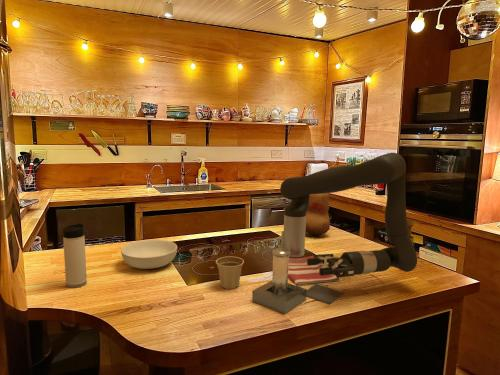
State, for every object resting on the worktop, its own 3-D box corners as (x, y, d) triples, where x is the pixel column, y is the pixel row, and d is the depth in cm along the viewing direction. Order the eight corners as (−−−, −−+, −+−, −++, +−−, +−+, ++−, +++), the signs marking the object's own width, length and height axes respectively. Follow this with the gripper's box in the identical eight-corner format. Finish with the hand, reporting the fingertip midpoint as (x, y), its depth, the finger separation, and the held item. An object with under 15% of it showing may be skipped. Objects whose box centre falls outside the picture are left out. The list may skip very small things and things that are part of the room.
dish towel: (312, 260, 149) (312, 254, 149) (341, 283, 127) (341, 276, 127) (273, 263, 145) (274, 257, 145) (296, 288, 123) (296, 280, 122)
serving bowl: (109, 269, 134) (108, 251, 133) (145, 252, 153) (145, 237, 152) (155, 279, 127) (155, 260, 126) (187, 260, 146) (187, 243, 145)
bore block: (252, 301, 111) (252, 290, 111) (274, 288, 120) (275, 278, 120) (284, 314, 104) (285, 302, 103) (306, 299, 113) (306, 289, 112)
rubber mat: (301, 294, 116) (301, 293, 116) (316, 285, 124) (316, 283, 124) (329, 304, 110) (329, 303, 110) (343, 293, 118) (343, 292, 118)
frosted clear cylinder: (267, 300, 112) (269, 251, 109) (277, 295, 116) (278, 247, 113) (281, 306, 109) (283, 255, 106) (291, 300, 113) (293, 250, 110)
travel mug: (91, 281, 123) (88, 224, 120) (76, 289, 117) (73, 229, 114) (77, 278, 125) (74, 222, 122) (61, 286, 119) (58, 227, 116)
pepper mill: (416, 266, 144) (420, 222, 141) (399, 265, 145) (402, 221, 142) (412, 260, 150) (416, 218, 147) (395, 259, 151) (399, 217, 149)
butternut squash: (301, 238, 179) (303, 188, 175) (302, 231, 192) (304, 184, 188) (329, 240, 177) (332, 189, 173) (328, 232, 190) (331, 185, 186)
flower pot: (222, 293, 116) (222, 268, 115) (211, 282, 124) (211, 258, 123) (248, 288, 120) (248, 263, 119) (236, 278, 129) (236, 254, 127)
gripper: (370, 282, 112) (323, 287, 107) (346, 265, 125) (303, 269, 121) (372, 259, 111) (324, 263, 106) (347, 245, 124) (304, 248, 120)
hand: (313, 266), depth 114 cm, fingers open, 8 cm apart
